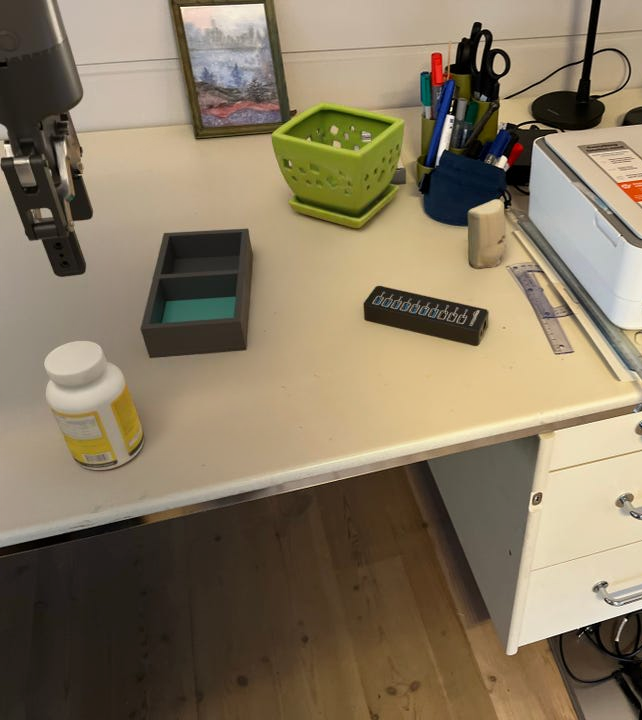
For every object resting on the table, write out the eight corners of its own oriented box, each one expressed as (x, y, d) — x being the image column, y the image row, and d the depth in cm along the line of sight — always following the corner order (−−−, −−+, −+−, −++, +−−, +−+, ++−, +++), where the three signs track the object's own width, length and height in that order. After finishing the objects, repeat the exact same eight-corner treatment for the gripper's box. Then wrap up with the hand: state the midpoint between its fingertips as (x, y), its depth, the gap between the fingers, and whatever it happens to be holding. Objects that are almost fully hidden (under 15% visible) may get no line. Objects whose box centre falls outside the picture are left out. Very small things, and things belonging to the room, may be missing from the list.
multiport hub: (377, 299, 93) (376, 284, 92) (488, 324, 91) (489, 309, 89) (362, 319, 90) (361, 304, 89) (477, 346, 87) (478, 330, 86)
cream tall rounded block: (471, 245, 104) (473, 193, 99) (508, 250, 104) (512, 198, 99) (463, 267, 100) (465, 214, 95) (502, 272, 99) (506, 219, 94)
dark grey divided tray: (246, 350, 85) (240, 321, 82) (149, 358, 83) (140, 328, 80) (252, 255, 100) (248, 228, 97) (170, 260, 98) (163, 232, 95)
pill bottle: (141, 417, 76) (110, 326, 69) (150, 461, 72) (118, 369, 64) (71, 435, 74) (31, 344, 66) (76, 482, 69) (33, 389, 62)
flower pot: (364, 241, 104) (359, 155, 96) (278, 218, 107) (265, 133, 99) (409, 197, 114) (407, 116, 106) (328, 178, 117) (321, 98, 109)
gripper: (-41, 6, 54) (35, 207, 64) (-87, 75, 44) (11, 301, 54) (73, 2, 56) (128, 198, 66) (55, 67, 46) (123, 287, 56)
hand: (76, 244), depth 60 cm, fingers open, 8 cm apart
